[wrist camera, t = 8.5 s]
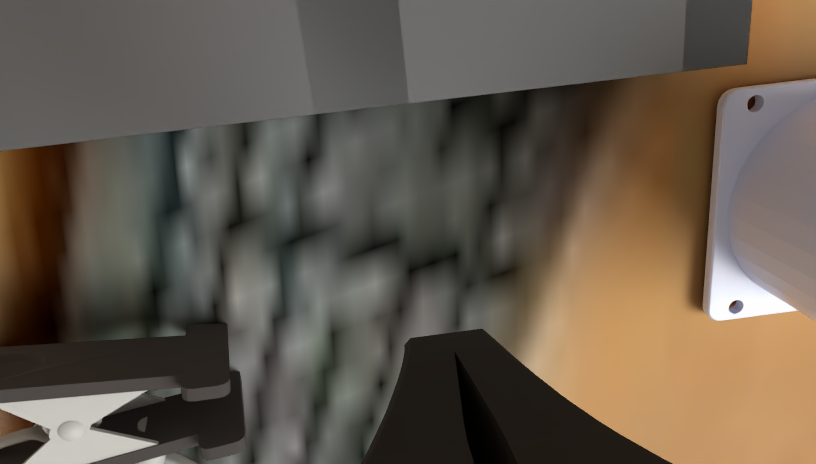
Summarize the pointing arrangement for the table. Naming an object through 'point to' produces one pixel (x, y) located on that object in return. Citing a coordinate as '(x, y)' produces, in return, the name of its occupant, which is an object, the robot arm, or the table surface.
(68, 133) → the key console
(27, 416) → the clip-on lamp
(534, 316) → the table surface
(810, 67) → the table surface
